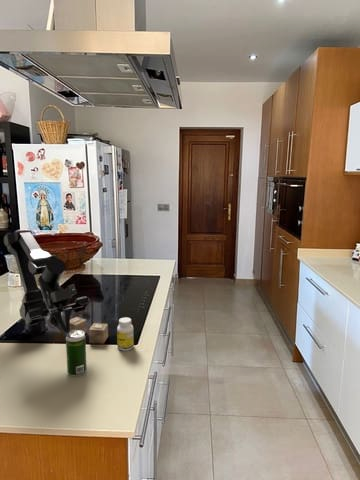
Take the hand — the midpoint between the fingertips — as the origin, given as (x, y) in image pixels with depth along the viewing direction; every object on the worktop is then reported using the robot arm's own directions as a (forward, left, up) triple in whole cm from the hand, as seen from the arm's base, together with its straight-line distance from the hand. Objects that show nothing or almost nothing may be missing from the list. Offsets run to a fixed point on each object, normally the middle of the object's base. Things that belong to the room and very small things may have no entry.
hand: (68, 335), depth 100 cm
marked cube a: (-1, +17, -10) cm, 19 cm away
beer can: (+4, -2, -10) cm, 11 cm away
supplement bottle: (+10, +16, -10) cm, 21 cm away
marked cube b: (-11, +18, -10) cm, 23 cm away
